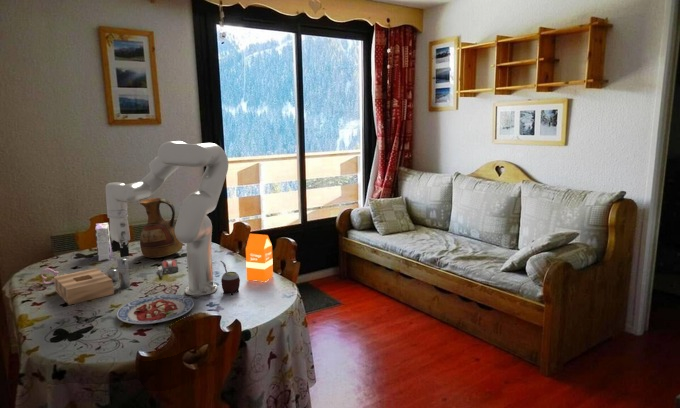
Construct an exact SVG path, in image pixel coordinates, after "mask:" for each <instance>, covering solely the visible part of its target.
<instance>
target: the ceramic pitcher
mask: <svg viewBox="0 0 680 408" xmlns="http://www.w3.org/2000/svg"><path fill="white" fill-rule="evenodd" d="M139 204H140V205H142V206H143V207H144V208H145V213H146V215H147V223H146V225H144V227H143V228H142V230H141V233H140V236H139V237H140V238H139V246H140V247H139V248H140V250H141V251H140V252H141V254H142V255H143V257H145V258H151V259H155V258H162V257H168V256H172V255H174V254H176V253H179V252H180V251H181V250H182V249H183V243H182V242H180V241H179V240H178V239H177V238H176V235H175V225H174V224H175V217H176V216H175V215H176V208H175V206H174V205H173V203H172V202H171V201H170V200H169V199H166V198H164V197H163V198H162V197H156V198H155V197H154V198H149V199H148V198H147V199H143V200H140V202H139ZM161 204H166V205H167V206H168V207H169V208H170V210H171V219H170V220H169V221H167V220H166V219H164V217H163V216H162V214H161V210H160V205H161Z"/></svg>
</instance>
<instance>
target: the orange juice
mask: <svg viewBox="0 0 680 408" xmlns="http://www.w3.org/2000/svg"><path fill="white" fill-rule="evenodd" d="M273 260H274V259H273V245H272V242H271V240H270V237H269V235H268V234H259V233H249V235H248V239H247V242H246V247H245V264H246V265H245V266H246V267H245V268H246V281H247V280H257V281H263V282H265V281H267V280H268V279H270V278H271V277H272V276H273V277H274V265H273V264H274V263H273V262H274V261H273ZM271 279H272V278H271ZM271 279H270V280H271ZM268 281H269V280H268ZM268 281H267V282H268Z"/></svg>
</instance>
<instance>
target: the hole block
mask: <svg viewBox="0 0 680 408" xmlns="http://www.w3.org/2000/svg"><path fill="white" fill-rule="evenodd" d="M65 274H66V275H63V274H60V275H61V276H56V277H55V276H54V277H53V279H54V282H53V283H54V288H55V289H54V290H55V292H56V293H57V294H58V295H59V296H60V297H61V298H62V300H63V301H64V302H65V303H66V304H67V305H68V306H70V305H74V304H78V303H83V302H87V301H90V300H95V299H98V298H102V297H107V296H111V295H114V294H115V292H114V283H113V280H112V279H111V278H110V277H108V274H105V273H104V272H103V271H101V270H100V269H99V268H96V267H95V268H90V269H87V270H86V269H85V270H81V271H79V272H78V271H76V272H72V273H65Z"/></svg>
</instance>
